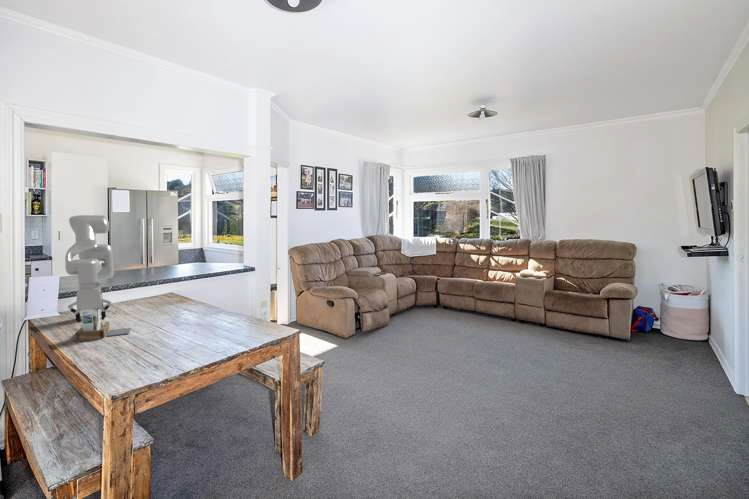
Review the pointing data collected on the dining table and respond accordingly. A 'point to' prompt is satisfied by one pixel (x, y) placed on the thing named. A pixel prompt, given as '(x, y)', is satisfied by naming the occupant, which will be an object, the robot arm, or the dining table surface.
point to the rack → (92, 333)
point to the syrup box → (91, 319)
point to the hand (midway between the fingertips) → (91, 320)
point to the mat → (119, 332)
